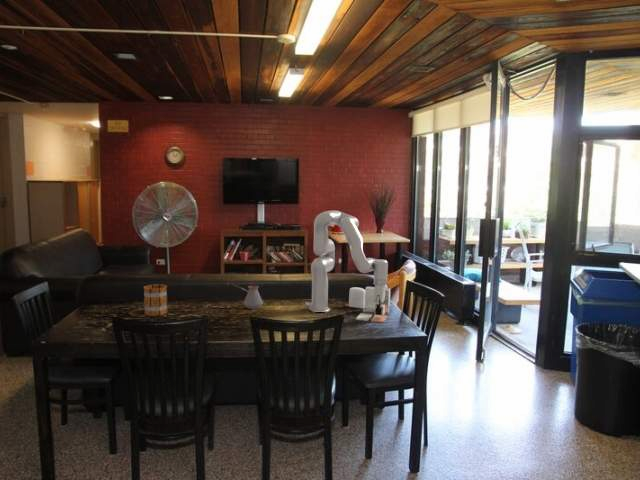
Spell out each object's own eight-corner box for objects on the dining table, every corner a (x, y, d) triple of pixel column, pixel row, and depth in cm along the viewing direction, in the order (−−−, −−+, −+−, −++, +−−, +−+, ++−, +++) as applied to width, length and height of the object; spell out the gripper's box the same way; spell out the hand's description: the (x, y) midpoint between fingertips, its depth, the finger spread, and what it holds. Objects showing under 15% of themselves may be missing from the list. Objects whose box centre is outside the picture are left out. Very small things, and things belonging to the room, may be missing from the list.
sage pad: (355, 319, 276) (355, 318, 276) (360, 314, 287) (360, 312, 287) (368, 320, 274) (368, 319, 274) (372, 315, 285) (372, 314, 285)
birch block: (374, 314, 276) (374, 305, 276) (376, 312, 281) (376, 303, 280) (383, 315, 275) (383, 306, 274) (384, 313, 279) (385, 304, 279)
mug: (162, 316, 275) (161, 289, 273) (139, 314, 276) (138, 288, 274) (176, 307, 294) (176, 282, 292) (154, 306, 296) (154, 281, 294)
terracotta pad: (370, 321, 273) (370, 319, 273) (375, 315, 285) (375, 314, 285) (383, 322, 271) (383, 321, 271) (387, 317, 283) (387, 315, 283)
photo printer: (365, 307, 303) (366, 287, 302) (363, 309, 299) (364, 289, 298) (350, 305, 307) (350, 286, 306) (347, 307, 303) (348, 287, 302)
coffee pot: (264, 305, 303) (264, 281, 301) (260, 310, 292) (261, 285, 290) (229, 304, 304) (229, 280, 302) (225, 309, 293) (225, 284, 291)
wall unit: (362, 312, 291) (363, 288, 289) (365, 309, 299) (366, 285, 297) (389, 315, 286) (390, 290, 285) (391, 312, 294) (392, 288, 292)
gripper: (376, 278, 285) (375, 309, 287) (370, 284, 269) (369, 316, 271) (389, 279, 282) (388, 310, 285) (384, 285, 266) (383, 318, 268)
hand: (379, 313), depth 278 cm, fingers closed on birch block, 5 cm apart
